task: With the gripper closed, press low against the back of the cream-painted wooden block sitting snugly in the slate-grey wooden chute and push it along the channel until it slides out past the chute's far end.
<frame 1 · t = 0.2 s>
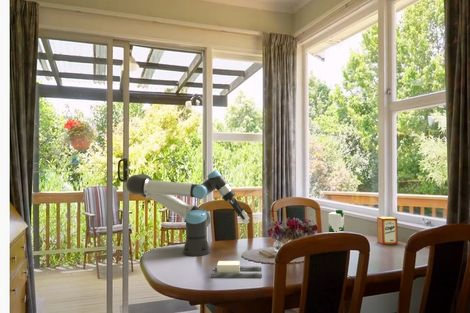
hand: (247, 221, 215), 15 cm above the table, tool tilted 35°, fingers open, 13 cm apart
milk carton: (336, 241, 229), on the table
baking soda box: (387, 243, 222), on the table
cream block: (228, 274, 164), on the table
chute: (237, 273, 164), on the table
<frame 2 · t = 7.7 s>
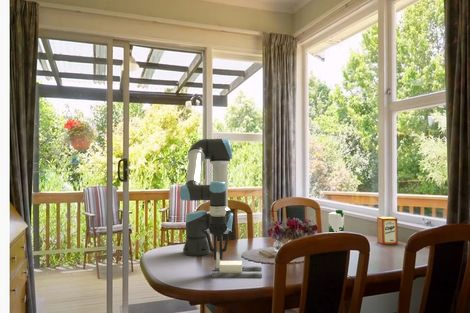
hand: (218, 266, 164), 3 cm above the table, tool pointing down, fingers closed
cream block: (231, 273, 164), on the table
everything else where it was.
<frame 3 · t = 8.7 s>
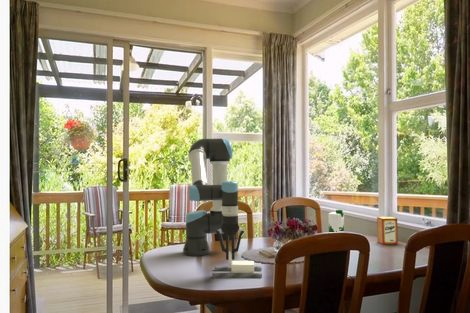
hand: (230, 266, 164), 3 cm above the table, tool pointing down, fingers closed
cream block: (243, 273, 163), on the table, touching gripper
everything else where it was.
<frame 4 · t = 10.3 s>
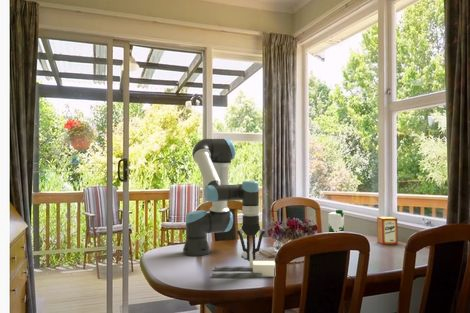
hand: (251, 266, 163), 3 cm above the table, tool pointing down, fingers closed
cream block: (264, 274, 163), on the table, touching gripper
everything else where it was.
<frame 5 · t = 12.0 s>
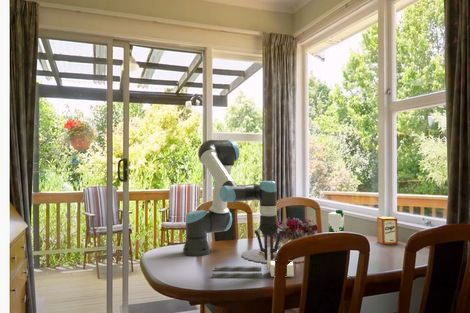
hand: (268, 266, 163), 3 cm above the table, tool pointing down, fingers closed
cream block: (281, 274, 162), on the table, touching gripper
everything else where it was.
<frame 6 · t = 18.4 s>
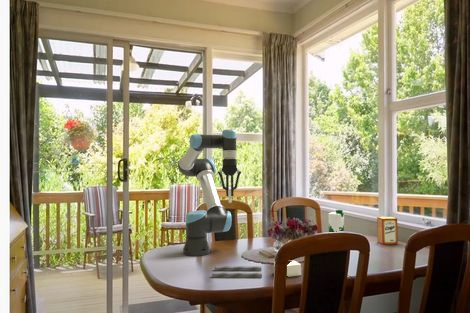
hand: (229, 202, 193), 29 cm above the table, tool pointing down, fingers closed
cream block: (287, 274, 162), on the table
everything else where it was.
at the end: cream block inside the target area (1.4 cm from its centre), on the table; cream block tilted 0°; cream block moved 26.8 cm from its start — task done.
